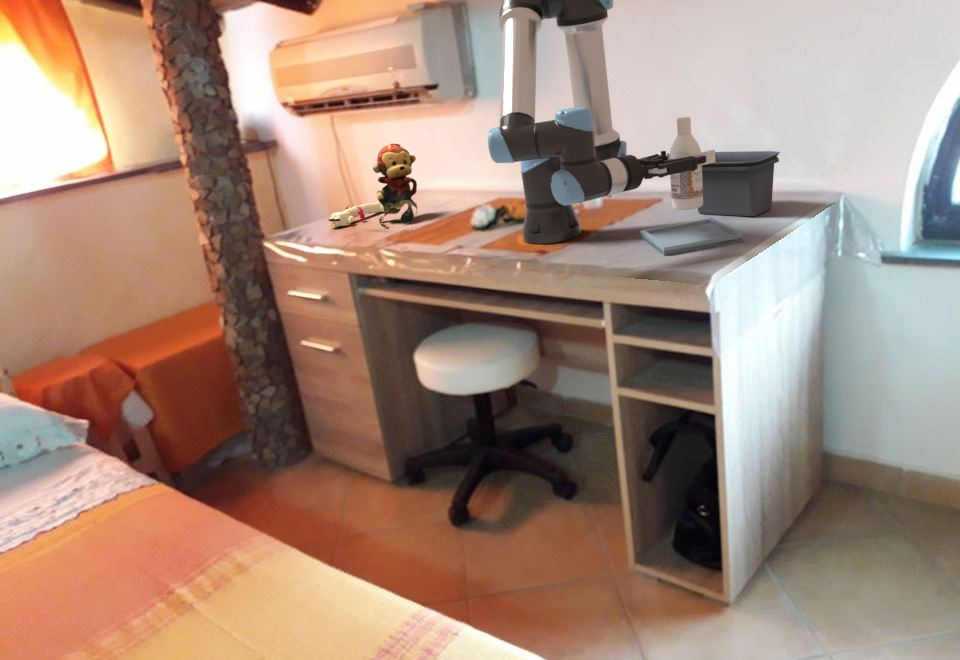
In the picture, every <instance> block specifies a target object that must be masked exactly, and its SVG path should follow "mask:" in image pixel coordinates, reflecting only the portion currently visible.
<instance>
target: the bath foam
mask: <svg viewBox="0 0 960 660" xmlns="http://www.w3.org/2000/svg"><path fill="white" fill-rule="evenodd" d="M676 126H677V127H676V128H677V129H676V130H677V131H676V132H677V135H676V137H675V138H674V141H673V143H672V145H671V148H670V150H669V153H670V158H669V159H670V160H672V159H678V158H684V157H690V156H689V155H693V154H697V153H701V152H702V151H701V147H700V145H699V143H698V141H697V140H696V138H695V137H694V135H693V134H692V121H691V117H690V116H683V117H678V118H676ZM669 176H670V193H671V194H670V195H671V207H672V208H673V209H674V210H677V211H679V210H680V211H689V210H696V209H698V208H699V207H701V206H702V205H703V183H702V166H698V167H697V169H696V170H695V171H691V170H690V171H685V172H681V173H676V174H671V175H669Z"/></svg>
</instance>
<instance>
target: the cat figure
mask: <svg viewBox="0 0 960 660" xmlns="http://www.w3.org/2000/svg"><path fill="white" fill-rule="evenodd" d="M376 191H377V192H376V195H378V193H379V192H380V191H381V190H376ZM349 207H350V205H349V204H348V205H347V206H346V207H345V209H344V210H342V211H337V212H334V213H331V214H330V217H329V218H328V222H331V223H328V226H331V227H332V228H333V229H334V228H339V227H346V226H349V225H351V223H352V222H353V219H354V218H358V217H359V219H360V223H362V222H364V220H365V218H366V215H367V214H379V213H383V212H384V208H383V205H382V204H381V203H380V202H379V201H378V200H377V201H376V202H374V203H364V204H361V205H358V204H357V205H355V206H351V207H350V208H349Z"/></svg>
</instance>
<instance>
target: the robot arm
mask: <svg viewBox="0 0 960 660" xmlns="http://www.w3.org/2000/svg"><path fill="white" fill-rule="evenodd" d="M613 8H614V0H502V2H501V6H500V10H499V21H498V23H499V28H500V31H502V32H503V33H502V34H503V36H502V55H501V56H502V57H501V58H502V59H501V62H502V63H501V83H500V84H501V85H500V86H501V87H500V109H499V110H500V112H499V126H496V127H494V128H491V129H490V130H489V131H488V136H487V145H488V146H487V147H488V151H489V156H490V157H491V159H492V161H493V162H494V163H496V164H510V163H511V164H514V163H516V162H517V163H518V162H520V174H521V179H522V186H523V187H522V188H523V192H524V202H525V209H526V212H525V217H524V222H523V227H522V236H523V237H522V238H523V241H524V242H525V243H528V244H537V245H538V244H540V245H541V244H542V245H543V244H555V243H559V242H564V241H569V240H571V239H574V238H576V237H578V236H580V235H581V234H582V228H581V227H582V226H581V222H580V221H579V219H578V217H577V214H576V212H575V210H574V206H573V205H575V204H582V203H586V202H589V201H592V200H593V201H594V200H596V199H599V198H603V197H607V198H610V199H611V198H612V195H616V194H619V193H625V192H629V191H633V190H636V189H638V188H639V187H640V186H641V184H642V183H643V180H650V179H653V178H655V177H658V178H664V177H667V176H670V175H671V174H676V173H681V172H685V171H690V170H691V171H695V170H696V169H697V167H698V166H702V165H706V164H710V163H714V162H716V161H715V152H716V150H715V149H710V150H705V151H701V153H697V154H693V155H689V156H690V157H684V158H678V159H672V160H670V159H669V158H670V152H669V153H667V151H666V150H661V151H660V154H658V153H655V154H652V155H649V156H645V157H641V158H637V157H636V156H635V155H634V154H627V152H628V150H627V148H628V147H627V145H628V143H627V142H626V141H625V140H621V136H620V133H619V132H618V131H616V130H615V129H614V128H613V119H612V111H611V109H612V108H611V101H610V91H609V81H608V73H607V72H608V71H607V70H608V69H607V62H606V61H607V60H606V54H605V53H606V51H605V45H604V44H605V43H604V42H605V41H604V32H603V25H604V24H605V22H606V21H607V20H608V18H609V16H608V10H612V9H613ZM546 19H547V20H549V19H555V20H556V26H557V28H558V29H560V30H561V31H562V32H563V33H564V38H565V47H566V52H567V61H568V62H567V63H568V68H569V69H568V70H569V76H570V79H569V80H570V86H571V92H572V94H571V96H572V102H573V107H569V108H563V109H559V110H557V111H556V112H555V114H554V119H552V120H547V121H540V122H536V97H537V96H536V95H537V94H536V90H537V89H536V88H537V54H538V53H537V50H538V49H537V48H538V47H537V46H538V43H537V42H538V33H539V31H540V30H541V29H542V24H543V22H542V21H543V20H546Z"/></svg>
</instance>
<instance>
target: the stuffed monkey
mask: <svg viewBox="0 0 960 660" xmlns="http://www.w3.org/2000/svg"><path fill="white" fill-rule="evenodd" d="M376 159H377V160H376V164H374V166H373V167H372V169H373V171H374V173H377V174H379V173H380V174H381V175H382V176H380V177H378V179H377V182H379V184H380V183H381V184H384V187H382V188H381V190H379V191H380V192H379V193H378V195H377V194H376V195H377V196H376V198H377V201H379V202H380V203H381V204H382V205H383V208H384V211H383V212H384V215H381V216H380V217H379V219H378V221H379V224H381V223H382V222H383V221H384V220H385V216H387V215H395V214H398V213H399V212H401V210H402V208H403V207H404V206H405V205H407V209H406V210H404V212H403V213H402V214H401V216H400V219H399V221H400V222H404V223H410V224H411V223H413V222H415V221H414V220H415V215H417V213H418V205H417V203H416V202H415V201H414V200H413V199H412V197H413V196H414V195H416V194H417V191H418V190H417V187H418V183H417V180H416V179H415V178H413V177H412V178H411V177H409V175H411V174H412V170H413V169H412V165H413V163H415V161H416V159H417V158H416V156H415V155H414V154H410V152H409V151H408V150H407V149H406V148H405V147H402V144H399V143H390V144H387V145H385V146H383V147H382V148H381V149H380V150H379V152H378V154H377V158H376ZM410 183H412V187H411V185H410ZM413 207H415V209H416V210H415V213H414V211H413Z"/></svg>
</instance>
